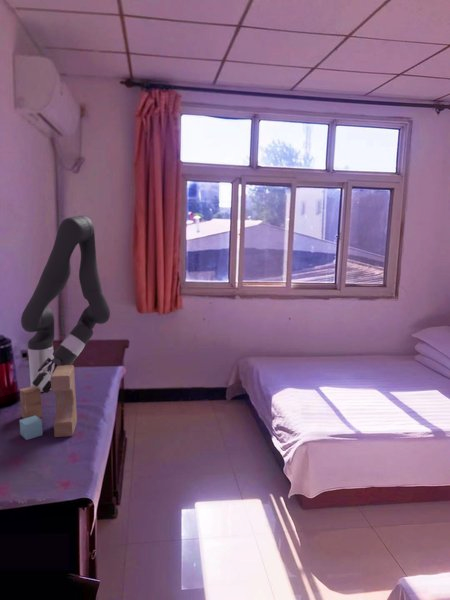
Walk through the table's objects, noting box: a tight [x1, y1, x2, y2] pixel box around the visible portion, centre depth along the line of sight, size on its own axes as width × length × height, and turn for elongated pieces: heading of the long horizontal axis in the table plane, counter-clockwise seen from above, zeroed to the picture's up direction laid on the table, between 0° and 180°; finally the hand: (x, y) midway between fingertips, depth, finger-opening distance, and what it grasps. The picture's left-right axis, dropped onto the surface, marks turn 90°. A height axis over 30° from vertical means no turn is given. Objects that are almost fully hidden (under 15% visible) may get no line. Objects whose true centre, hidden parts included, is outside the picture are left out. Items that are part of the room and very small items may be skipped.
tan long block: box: [19, 385, 43, 419], centre depth 152 cm, size 5×5×10 cm
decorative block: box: [50, 364, 78, 438], centre depth 142 cm, size 11×6×20 cm, turn 10°
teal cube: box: [18, 415, 44, 441], centre depth 140 cm, size 5×5×5 cm
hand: (39, 388), depth 153 cm, fingers open, 8 cm apart
